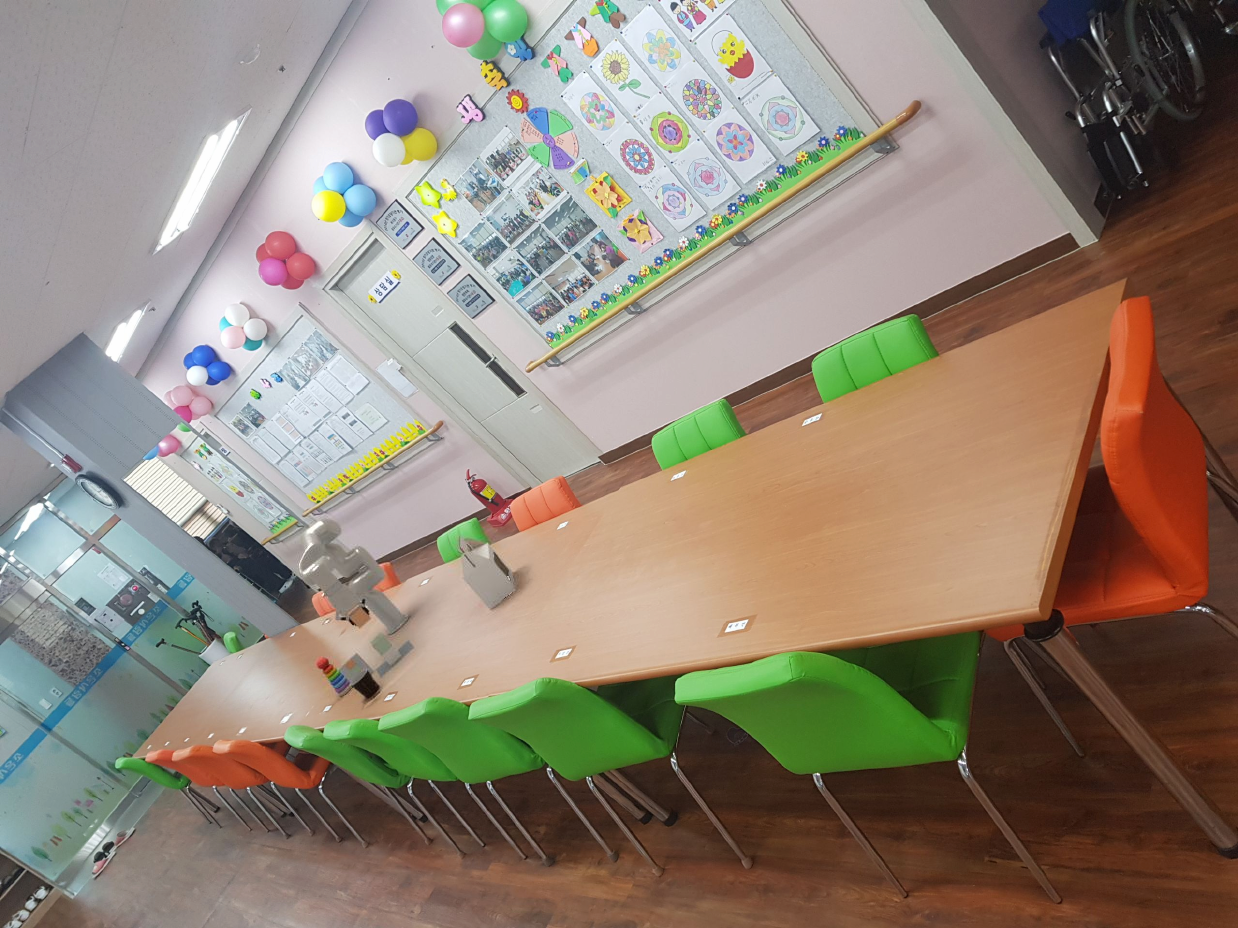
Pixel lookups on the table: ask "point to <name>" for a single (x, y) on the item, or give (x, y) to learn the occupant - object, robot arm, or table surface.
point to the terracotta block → (359, 616)
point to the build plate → (386, 667)
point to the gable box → (485, 571)
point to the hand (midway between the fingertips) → (362, 619)
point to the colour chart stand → (354, 667)
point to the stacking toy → (334, 677)
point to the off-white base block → (391, 655)
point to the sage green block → (381, 643)
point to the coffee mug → (365, 684)
